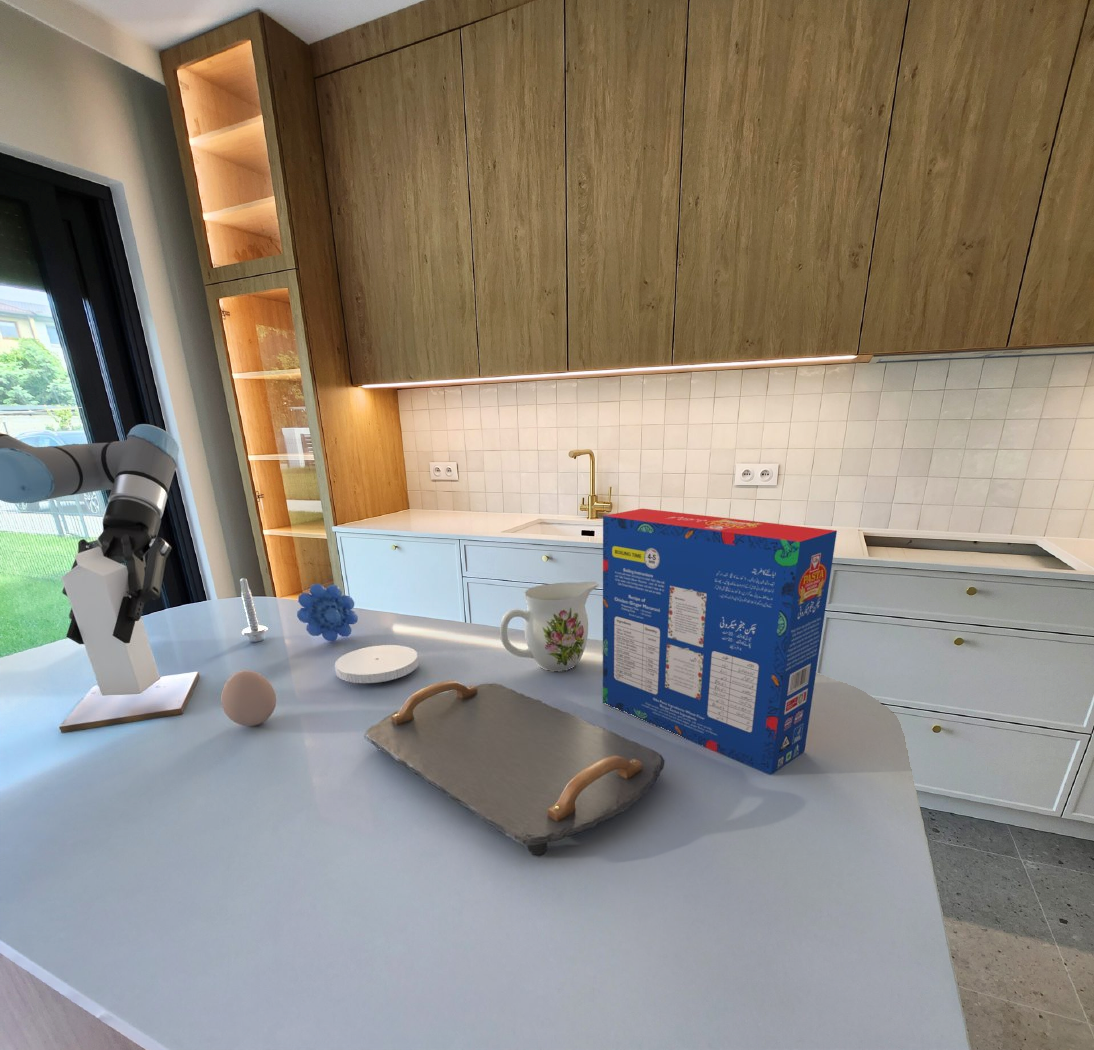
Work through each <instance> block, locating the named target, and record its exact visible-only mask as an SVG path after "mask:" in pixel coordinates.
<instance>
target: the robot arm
mask: <svg viewBox="0 0 1094 1050" xmlns="http://www.w3.org/2000/svg"><path fill="white" fill-rule="evenodd" d="M179 451H180V447H179V444H178V442H177V441H176V439H175V438H174V437H173V436H172V435H171V434H170V433H169V432H167V431H166V430H165V429H162V428H160V427H158V426H155V425H152V424H147V423H141V424H136V425H135V426H133V427H132V428H130V430H129V432H128V433H127V435H126V439H125V440H118V441H117V440H115V441H110V442H95V443H94V442H93V443H80V444H79V443H72V444H62V445H48V446H33V445H30V444H28V443H26V442H23V441H22V440H19V439H17V438H16V437H13V436H11V435H9V434H8V433H6V432H3V431H2V430H0V501H1V502H4V503H9V504H23V503H24V504H32V503H39V502H42V501H46V500H47V501H48V500H51V499H57V498H62V497H68V496H75V495H81V494H88V493H93V492H100V491H101V492H102V491H110V494H109V497H108V499H107V500H108V503H107V504H106V507H105V510H104V514H103V516H102V521H101V523H102V532H101V533H100V535H99V536H98V537H97V539H96V540H92V541H87V540H86V539H84V538H82V539H81V540H79V541H78V542H77V554H78V553H81V552H84V551H87V550H90V549H93V548H96V547H101V550H102V553H103V556H104V557H107V558H109V559H111V560H113V561H116V562H118V563H120V564H122V565H123V564H126V567H127V570H128V583H129V591H128V592H127V591H126V592H127V593H128V594H129V595H130V596H131V598H130V597H128V596H123V599H122V603H121V607H120V610H119V614H118V617H117V621H116V624H115V628H114V632H113V635H112V636H114V637H116V638H117V639H119V640H120V641H122V642H124V643H130V640H131V636H132V632H133V628H134V625H135V621H139V619H140V618H141V617H142V615H143V614H142V613H143V610H144V606H145V604H146V603H148V601H150V600H153V601H156V600H158V599H160V597H161V593H162V592H161V591H162V585H163V579H164V574H165V568H166V561H167V558H168V557H169V554H170V552H171V550H172V546H171V545H170V544H169V543H168V542H167V541H166V540H165V539H163V538H162V537H160V536H158V534H159V530H160V527H161V524H162V517H163V515H164V511H165V507H166V503H167V500H168V495H169V491H170V487H171V484H172V481H173V478H174V475H175V472H176V469H177V467H178V457H179ZM146 554H148V555H147V560H146ZM77 565H78V564H77V561H76V558H75V559H74V561H73V563H72V566H71V568H70V570H72V569H73V568H74V567H76V566H77ZM61 593H62V595H64V596H66V597H67V598H68V596H67V593H66V590H65V587H64V586H63V588H62V591H61ZM69 611H70V612H69V614H68V618H69V619H70V623H69V627H68V629H67V632H66V638H68V639H70V640H71V641H73V642H75V643H76V644H78V645H84V642H83V639H82V636H81V633H80V630H79V628H78V625H77V622H76V619H75V616H74V613H73V610H72V607H71V606H70V610H69Z"/></svg>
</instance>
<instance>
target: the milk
mask: <svg viewBox="0 0 1094 1050" xmlns="http://www.w3.org/2000/svg"><path fill="white" fill-rule="evenodd" d="M74 558H75V559H76V561H77V564H78V565H77V566H76V567H74V568H73V569H72V570H71V569H70V570H69V571H68V572H66V573H65V574H63V575H62V576H61V581H62V584H63V588H64V587H65V590H66V593H67V596H68V597H67V596H66V597H67V598H68V601H69V603H70V608H71V607H72V610H73V613H74V616H75V619H76V622H77V625H78V628H79V630H80V633H81V636H82V639H83V642H84V644H83V645H84V648H85V650H86V654H87V657H88V659H89V662H90V664H91V668H92V671H93V673H94V676H95V680H96V682H97V685H99V688H100V691H101V694H102V696H106V695H127V694H141V693H142V692H143V691H145V690H146V689H147V688H149V687H150V686H151V685H153V684H154V683H155V682H157V681H158V680H159V679H160V677H161V676H160V673H159V670H158V666H157V663H156V660H155V657H154V654H153V650H152V647H151V644H150V641H149V637H148V634H147V631H146V627H145V624H144V621H143V617H142V616H141V618H140V619H139V621H135V625H134V628H133V632H132V636H131V640H130V643H124V642H122V641H120V640H119V639H117V638H116V637H114V636H112V635H113V632H114V628H115V624H116V621H117V617H118V614H119V610H120V607H121V603H122V599H123V596H128V597H130V598H131V596H130V595H129V594H128V593H127V592H128V591H129V583H128V570H127V565H125V564H123V563H122V564H120V563H118V562H116V561H113V560H111V559H109V558H107V557H104V556H103V553H102V550H101V547H96V548H93V549H90V550H87V551H84V552H81V553H78V552H77V553H76V554H75V555H74ZM126 591H127V592H126Z"/></svg>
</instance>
